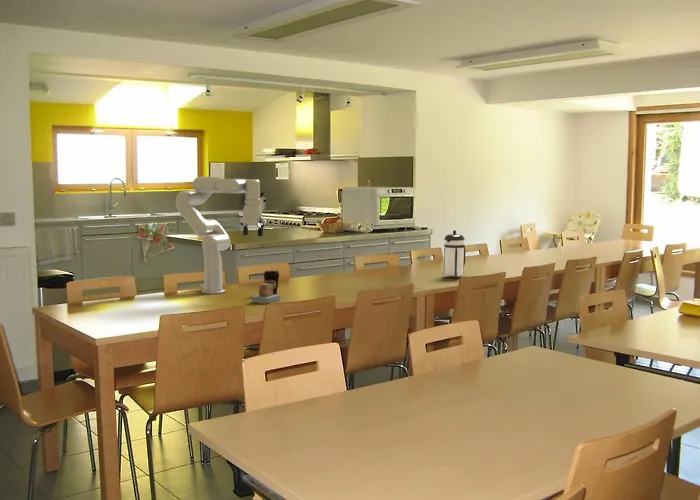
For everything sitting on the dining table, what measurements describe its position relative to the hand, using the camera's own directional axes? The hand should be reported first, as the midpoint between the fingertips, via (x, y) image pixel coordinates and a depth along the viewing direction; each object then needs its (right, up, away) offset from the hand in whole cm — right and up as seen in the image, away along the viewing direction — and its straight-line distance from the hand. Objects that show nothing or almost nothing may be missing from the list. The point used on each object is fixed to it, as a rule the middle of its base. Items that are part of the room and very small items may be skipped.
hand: (252, 235), depth 377 cm
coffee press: (+118, -25, +79) cm, 144 cm away
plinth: (+9, -34, -13) cm, 37 cm away
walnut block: (+8, -31, -13) cm, 35 cm away
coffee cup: (+9, -32, +7) cm, 34 cm away
